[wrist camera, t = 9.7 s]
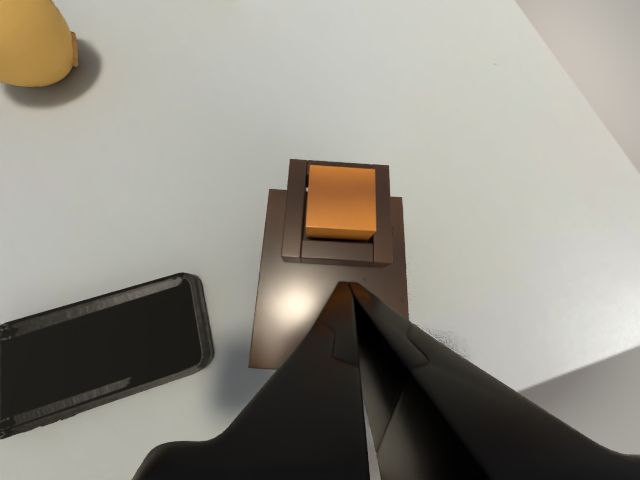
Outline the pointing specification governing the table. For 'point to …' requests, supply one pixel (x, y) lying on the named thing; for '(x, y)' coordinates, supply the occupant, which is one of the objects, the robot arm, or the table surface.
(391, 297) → the stepped brown pedestal
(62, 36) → the stress ball
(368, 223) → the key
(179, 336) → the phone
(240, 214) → the table surface
